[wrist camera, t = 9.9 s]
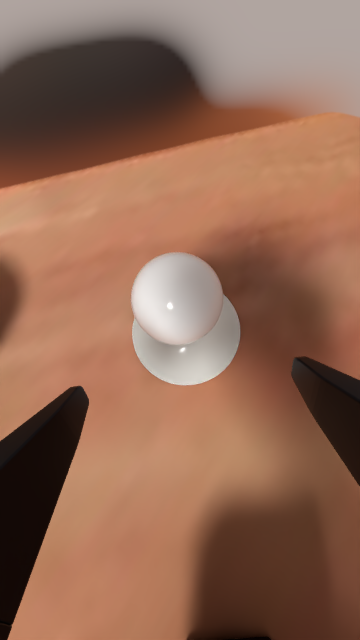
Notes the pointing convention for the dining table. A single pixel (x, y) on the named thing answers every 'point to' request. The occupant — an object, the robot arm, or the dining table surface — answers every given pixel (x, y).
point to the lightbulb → (177, 298)
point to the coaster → (191, 351)
